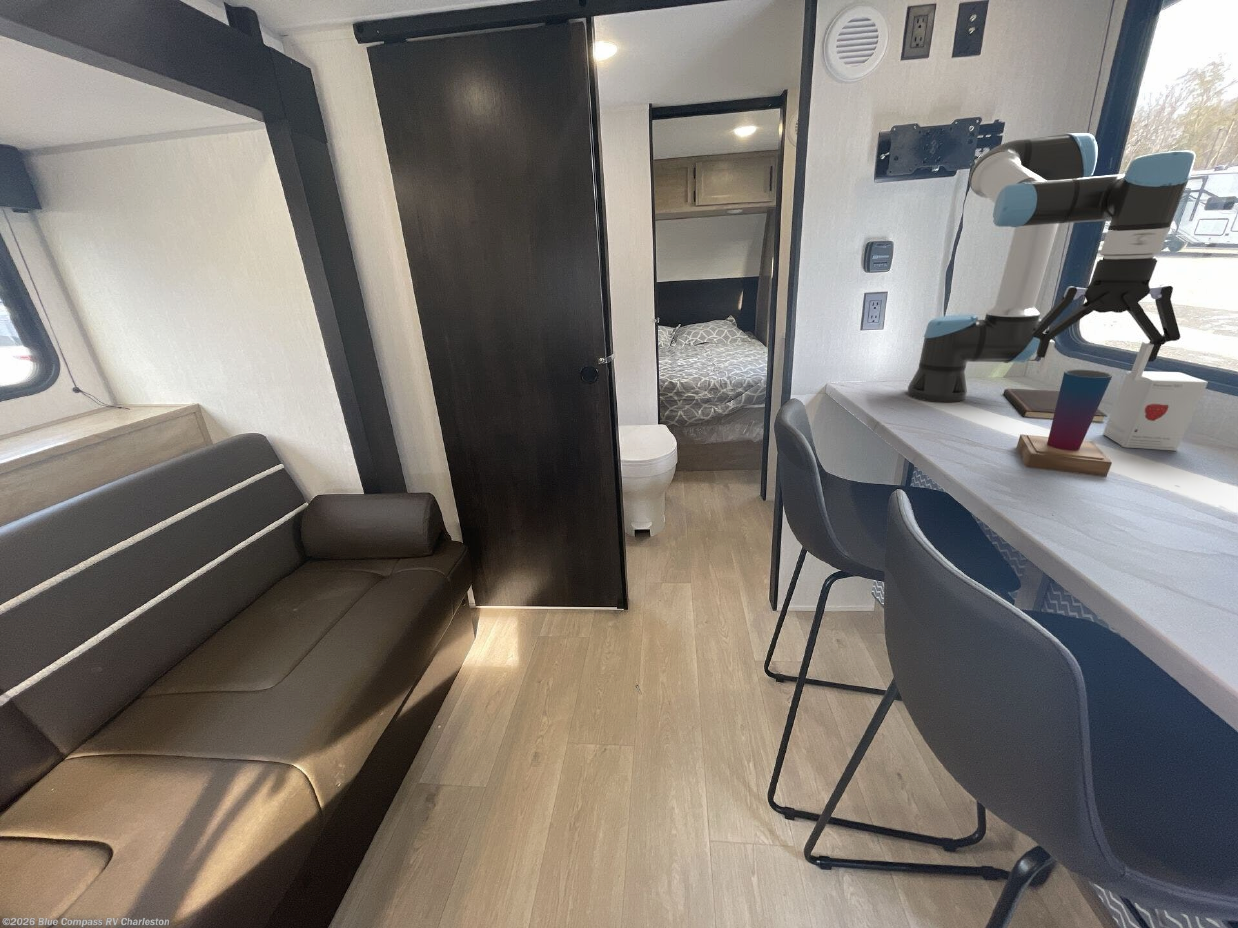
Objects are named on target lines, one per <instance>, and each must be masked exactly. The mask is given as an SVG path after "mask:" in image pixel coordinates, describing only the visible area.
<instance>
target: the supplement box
mask: <svg viewBox="0 0 1238 928" xmlns="http://www.w3.org/2000/svg"><path fill="white" fill-rule="evenodd" d="M1130 373H1131V370H1127V371H1126V374H1125V376H1124V379H1123V380H1122V381H1123V382H1122V384H1121V386H1120V388H1119V390H1118V395H1117V397H1116V399H1115V401H1114V405H1113V406H1112V409H1111V411H1110V414H1109V416H1108V419H1107V422H1106V425H1105V426H1104V430H1103V433H1102V435H1104V436H1106V437H1108V438H1109V439H1111V440H1112V441H1113V442H1115V443H1116V444H1118V445H1120V446H1122V447H1123V448H1129V449H1130V448H1131V449H1143V450H1144V449H1145V450H1146V449H1148V450H1160V451H1176V452H1177V451H1178V448H1179V447H1180V445H1181V442H1182V440H1183V437H1184V436H1185V433H1186V432H1187V429H1188V426H1189V425H1190V423H1191V421H1192V419H1193V416H1194V414H1195V411H1196V409H1197V407H1198V405H1199V404H1200V401H1201V400H1202V397H1203V394H1204V392H1205V390H1206V388H1207V386H1208V383H1209V382H1208V381H1207V380H1204V379H1201V378H1198V377H1195V376H1191V375H1190V374H1186V373H1184V372H1179V371H1146V370H1144V371H1143V374H1142V376H1141V379H1140V380H1133V379H1132V378H1130V377H1129V375H1130Z"/></svg>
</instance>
